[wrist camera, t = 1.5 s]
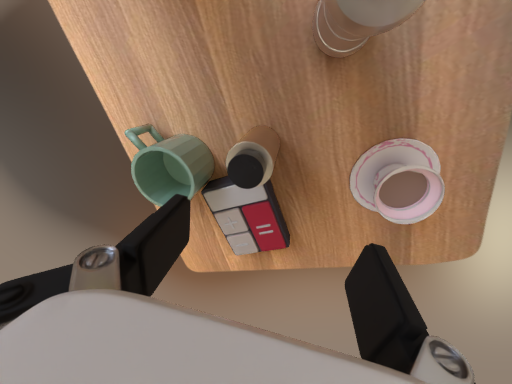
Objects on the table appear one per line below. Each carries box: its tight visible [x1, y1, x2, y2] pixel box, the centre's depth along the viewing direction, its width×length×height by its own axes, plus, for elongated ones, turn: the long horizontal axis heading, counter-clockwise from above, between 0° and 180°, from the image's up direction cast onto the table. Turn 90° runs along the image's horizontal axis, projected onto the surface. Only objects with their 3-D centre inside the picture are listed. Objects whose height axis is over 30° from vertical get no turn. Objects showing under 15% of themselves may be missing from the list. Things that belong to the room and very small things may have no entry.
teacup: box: [349, 138, 445, 225], centre depth 29 cm, size 12×12×6 cm
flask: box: [226, 126, 280, 189], centre depth 28 cm, size 6×6×12 cm
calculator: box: [201, 176, 290, 255], centre depth 37 cm, size 11×4×15 cm
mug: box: [125, 124, 214, 207], centre depth 33 cm, size 13×10×8 cm
